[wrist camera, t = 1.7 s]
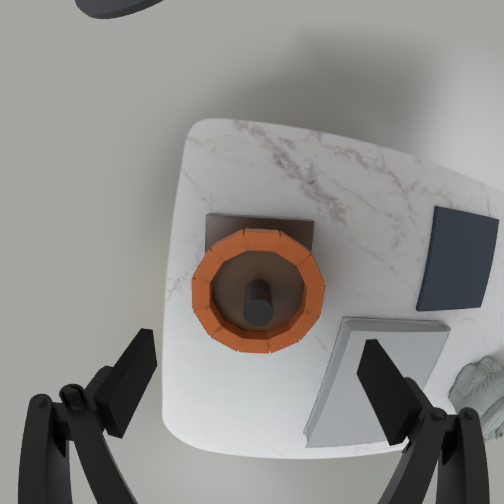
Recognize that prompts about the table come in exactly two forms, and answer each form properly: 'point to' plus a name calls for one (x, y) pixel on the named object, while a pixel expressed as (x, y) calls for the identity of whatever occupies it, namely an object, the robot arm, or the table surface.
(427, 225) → the table surface
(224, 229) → the ring stand
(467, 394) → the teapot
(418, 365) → the book
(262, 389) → the table surface
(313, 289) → the ring
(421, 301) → the mat
